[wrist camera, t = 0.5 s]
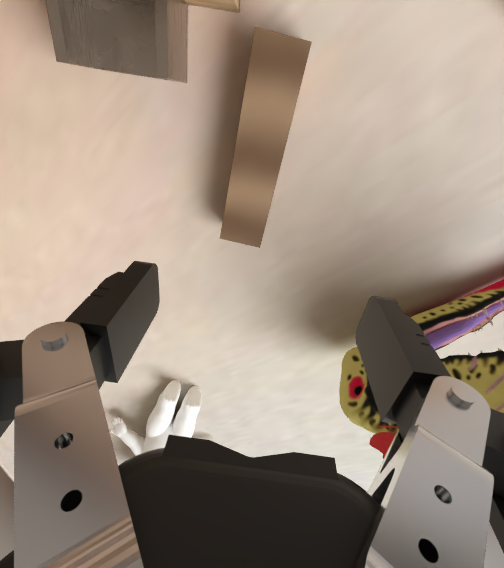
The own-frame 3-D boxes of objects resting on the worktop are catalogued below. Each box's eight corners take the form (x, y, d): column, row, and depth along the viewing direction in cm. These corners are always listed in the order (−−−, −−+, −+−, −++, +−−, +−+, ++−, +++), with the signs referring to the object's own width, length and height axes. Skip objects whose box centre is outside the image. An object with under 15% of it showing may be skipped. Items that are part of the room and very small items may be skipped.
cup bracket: (186, 82, 25) (159, 76, 19) (93, 68, 25) (37, 57, 19) (187, 4, 22) (155, -32, 16) (83, -13, 22) (13, -54, 16)
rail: (258, 37, 23) (255, 26, 20) (306, 50, 24) (311, 41, 20) (226, 224, 32) (219, 238, 28) (261, 232, 32) (259, 247, 29)
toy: (566, 278, 32) (893, 475, 15) (344, 370, 42) (389, 552, 25) (552, 226, 29) (933, 398, 12) (317, 338, 39) (349, 519, 22)
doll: (242, 432, 42) (185, 535, 54) (244, 385, 50) (195, 483, 62) (108, 393, 39) (80, 511, 51) (135, 350, 48) (105, 460, 60)
